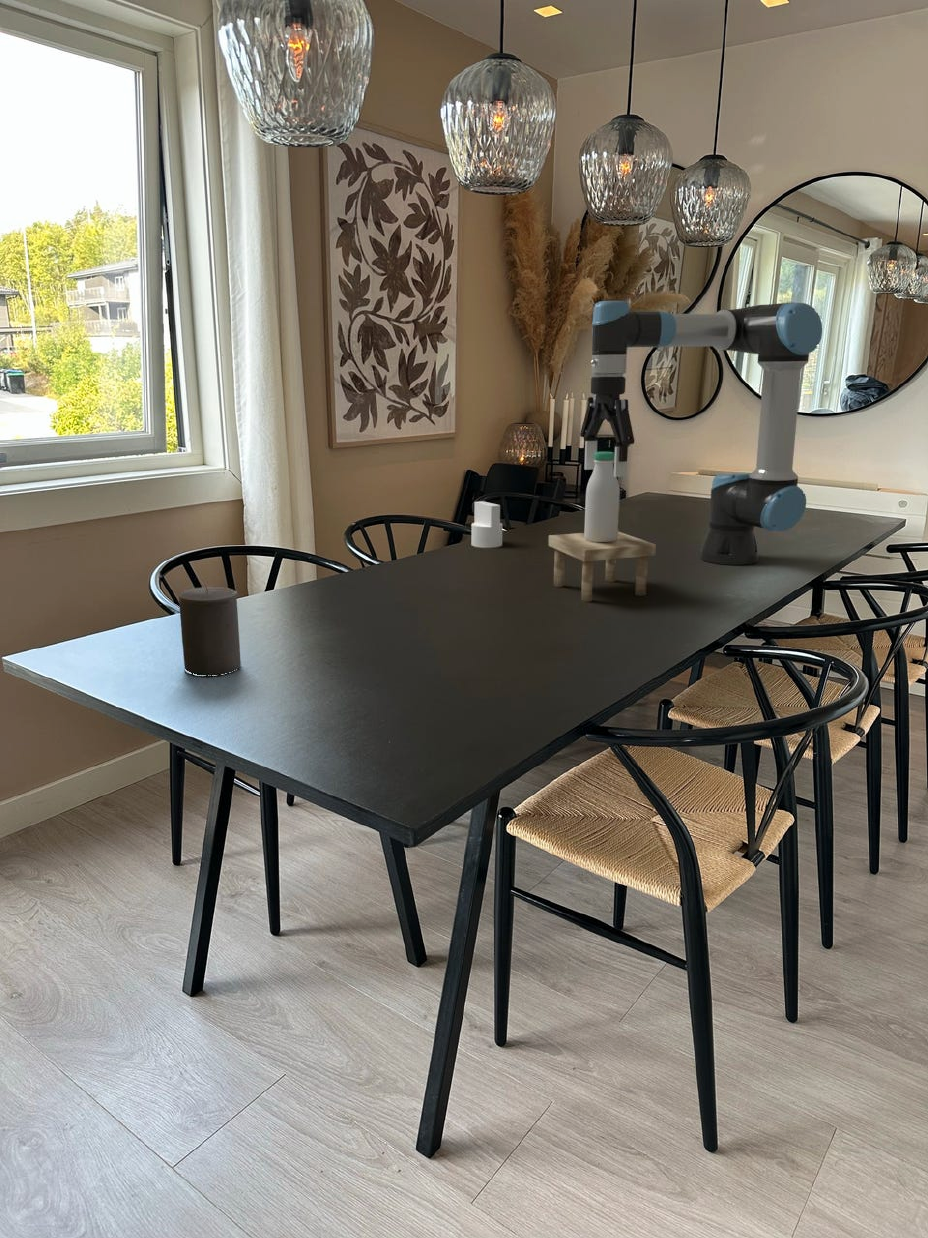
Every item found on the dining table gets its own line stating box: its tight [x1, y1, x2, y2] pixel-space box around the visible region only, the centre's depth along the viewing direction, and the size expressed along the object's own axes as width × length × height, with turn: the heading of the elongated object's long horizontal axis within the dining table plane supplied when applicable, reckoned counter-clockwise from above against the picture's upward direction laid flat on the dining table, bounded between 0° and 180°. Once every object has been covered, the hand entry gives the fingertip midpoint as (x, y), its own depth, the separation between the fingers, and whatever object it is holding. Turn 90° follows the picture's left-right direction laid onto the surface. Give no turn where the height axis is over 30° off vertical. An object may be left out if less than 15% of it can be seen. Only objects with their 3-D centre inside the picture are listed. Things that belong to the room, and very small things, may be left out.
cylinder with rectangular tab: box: [470, 500, 503, 549], centre depth 257 cm, size 9×9×12 cm
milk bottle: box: [583, 451, 621, 542], centre depth 202 cm, size 8×8×20 cm
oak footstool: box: [548, 530, 657, 603], centre depth 207 cm, size 18×18×12 cm
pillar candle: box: [178, 585, 242, 676], centre depth 155 cm, size 10×10×15 cm
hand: (604, 472), depth 201 cm, fingers open, 13 cm apart
